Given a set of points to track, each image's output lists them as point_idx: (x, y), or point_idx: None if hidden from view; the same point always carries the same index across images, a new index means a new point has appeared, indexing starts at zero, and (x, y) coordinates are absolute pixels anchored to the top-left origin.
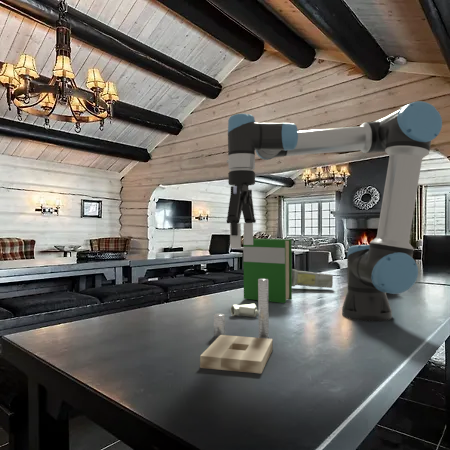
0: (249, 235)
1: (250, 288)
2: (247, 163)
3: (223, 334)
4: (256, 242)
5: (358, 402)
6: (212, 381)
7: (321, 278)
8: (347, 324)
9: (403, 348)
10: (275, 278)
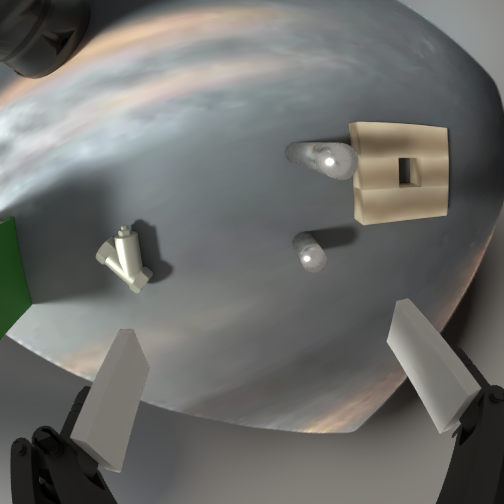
0: (122, 384)
1: (16, 302)
2: None
3: (310, 235)
4: None
5: (442, 32)
6: (455, 183)
7: None
8: (113, 36)
9: None
10: None
